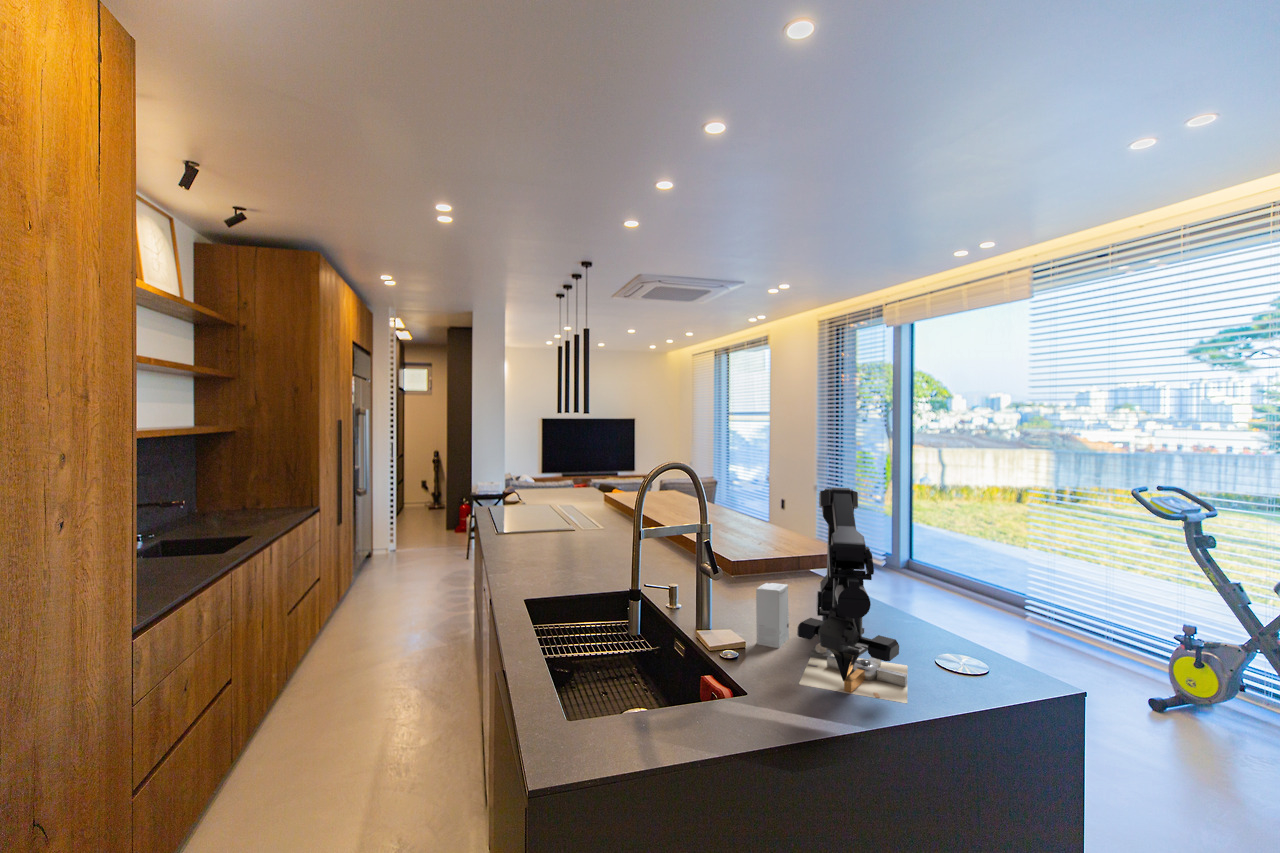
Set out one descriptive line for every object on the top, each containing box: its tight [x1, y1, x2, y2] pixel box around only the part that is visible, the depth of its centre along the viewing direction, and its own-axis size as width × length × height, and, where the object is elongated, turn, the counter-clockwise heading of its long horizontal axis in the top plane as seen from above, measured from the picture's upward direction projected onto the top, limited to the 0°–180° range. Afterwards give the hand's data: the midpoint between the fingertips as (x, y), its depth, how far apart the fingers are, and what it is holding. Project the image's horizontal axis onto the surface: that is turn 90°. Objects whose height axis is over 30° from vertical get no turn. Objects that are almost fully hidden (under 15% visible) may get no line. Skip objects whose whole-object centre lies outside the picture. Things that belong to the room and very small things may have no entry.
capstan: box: [827, 655, 908, 692], centre depth 124 cm, size 16×18×3 cm
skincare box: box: [755, 582, 790, 649], centre depth 146 cm, size 8×6×15 cm
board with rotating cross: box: [798, 642, 909, 704], centre depth 125 cm, size 20×20×4 cm
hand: (845, 681), depth 119 cm, fingers closed
